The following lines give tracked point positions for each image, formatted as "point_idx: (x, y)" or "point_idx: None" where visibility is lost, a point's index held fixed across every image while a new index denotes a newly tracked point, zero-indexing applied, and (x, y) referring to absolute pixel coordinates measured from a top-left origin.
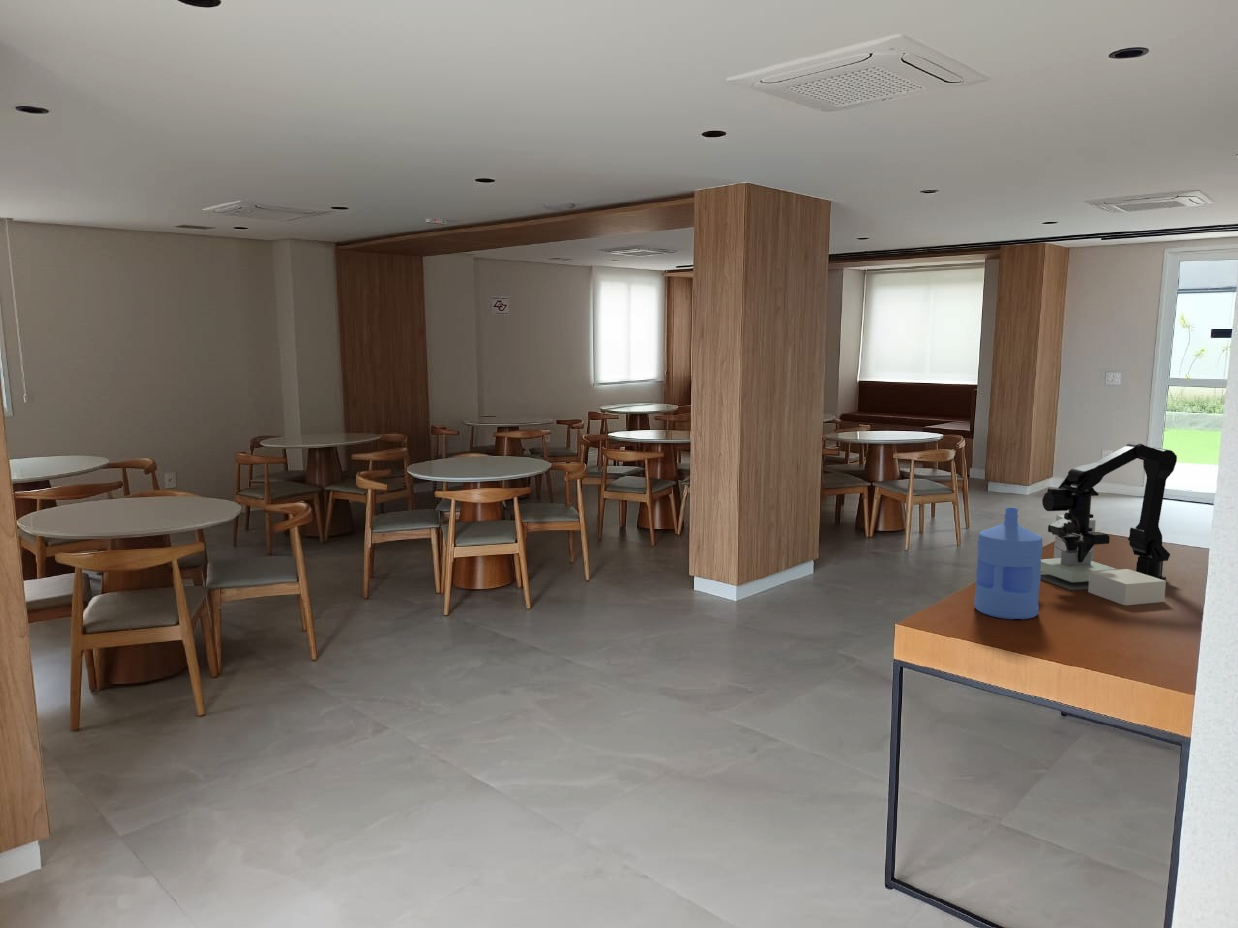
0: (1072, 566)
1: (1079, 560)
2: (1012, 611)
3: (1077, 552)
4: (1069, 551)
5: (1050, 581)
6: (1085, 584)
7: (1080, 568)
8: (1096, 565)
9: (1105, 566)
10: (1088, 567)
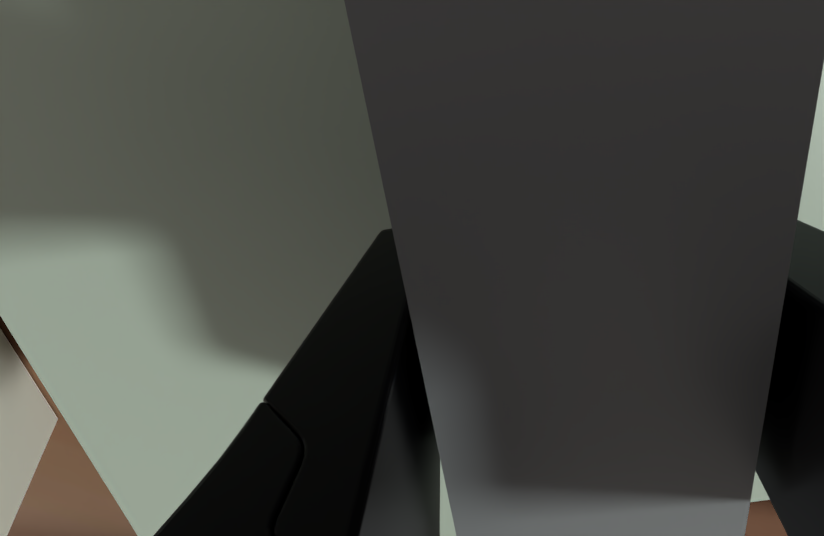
0: (334, 1)
1: (368, 252)
2: None
3: (454, 373)
4: (652, 208)
5: None
6: None
7: (136, 87)
8: None
9: None
10: (240, 286)
